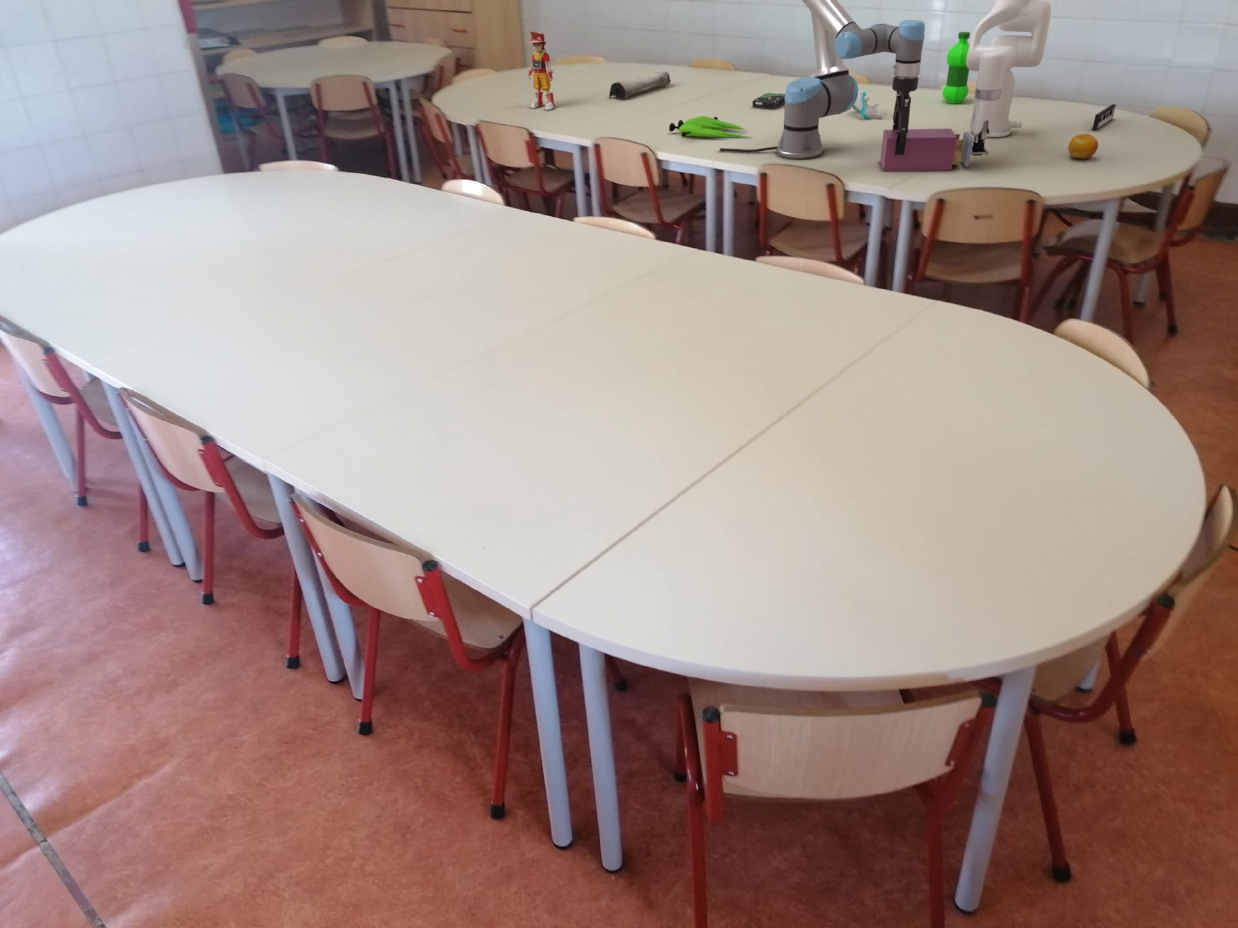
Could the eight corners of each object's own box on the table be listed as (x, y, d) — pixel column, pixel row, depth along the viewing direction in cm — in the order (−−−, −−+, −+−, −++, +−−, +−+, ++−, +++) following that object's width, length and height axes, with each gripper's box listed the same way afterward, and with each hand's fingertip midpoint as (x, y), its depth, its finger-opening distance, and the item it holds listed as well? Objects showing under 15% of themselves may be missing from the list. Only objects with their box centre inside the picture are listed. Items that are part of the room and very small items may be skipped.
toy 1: (525, 109, 381) (517, 32, 364) (534, 104, 388) (527, 28, 371) (550, 110, 377) (543, 32, 360) (559, 105, 384) (553, 28, 367)
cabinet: (946, 161, 294) (951, 128, 288) (951, 170, 286) (956, 137, 280) (880, 161, 297) (883, 129, 291) (883, 171, 289) (887, 138, 283)
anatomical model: (844, 88, 347) (870, 81, 346) (847, 115, 353) (872, 108, 352) (856, 97, 335) (882, 90, 334) (858, 125, 341) (884, 118, 340)
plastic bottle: (973, 101, 354) (984, 32, 339) (955, 106, 349) (966, 36, 335) (952, 97, 361) (962, 29, 346) (934, 102, 356) (944, 33, 342)
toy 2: (658, 135, 331) (731, 150, 319) (659, 121, 329) (733, 135, 316) (693, 123, 352) (763, 136, 339) (694, 110, 349) (765, 122, 336)
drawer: (981, 158, 291) (986, 131, 287) (987, 166, 284) (992, 139, 279) (900, 159, 295) (904, 133, 290) (904, 167, 288) (908, 140, 283)
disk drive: (775, 110, 359) (790, 101, 369) (775, 102, 358) (790, 94, 368) (751, 108, 364) (767, 99, 374) (752, 100, 362) (767, 92, 372)
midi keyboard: (1095, 130, 313) (1099, 115, 310) (1091, 129, 314) (1095, 115, 311) (1112, 119, 323) (1116, 104, 320) (1108, 118, 324) (1112, 104, 321)
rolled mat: (651, 76, 408) (662, 61, 399) (662, 93, 408) (674, 79, 400) (605, 92, 391) (616, 77, 383) (617, 110, 391) (628, 95, 383)
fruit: (1064, 149, 286) (1082, 126, 283) (1061, 151, 293) (1078, 129, 290) (1086, 163, 284) (1105, 141, 281) (1083, 166, 292) (1101, 144, 289)
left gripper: (889, 69, 286) (881, 140, 299) (898, 85, 268) (889, 160, 280) (913, 68, 285) (904, 139, 298) (924, 84, 267) (914, 160, 279)
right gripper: (970, 89, 283) (960, 148, 293) (979, 100, 271) (968, 161, 281) (995, 88, 282) (984, 148, 292) (1005, 99, 270) (993, 161, 280)
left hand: (897, 149), depth 289 cm, fingers closed on cabinet, 10 cm apart
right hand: (976, 154), depth 287 cm, fingers closed
